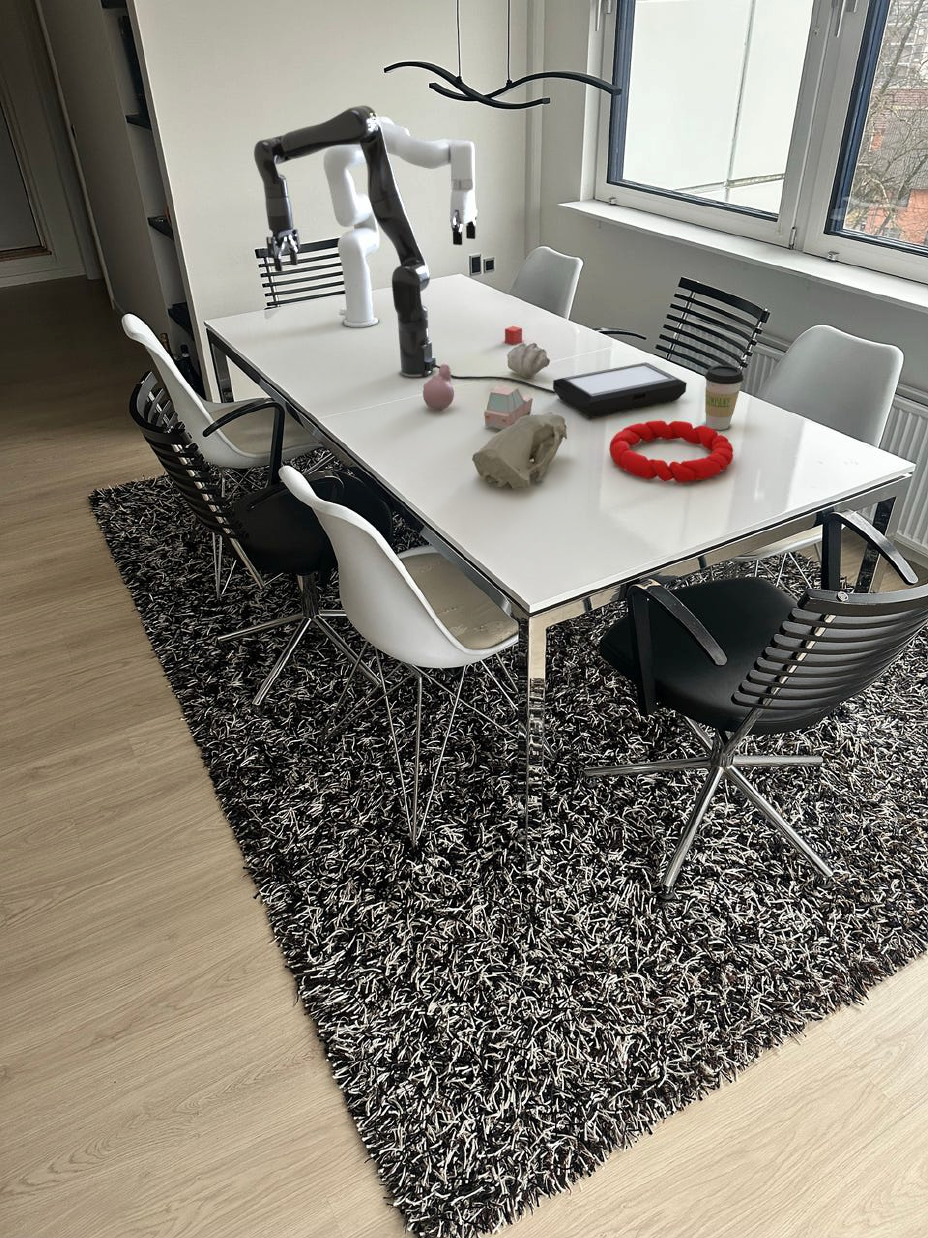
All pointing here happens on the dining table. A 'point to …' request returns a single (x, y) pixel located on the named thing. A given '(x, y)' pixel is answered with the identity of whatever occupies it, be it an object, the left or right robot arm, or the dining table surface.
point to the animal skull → (521, 450)
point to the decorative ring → (676, 471)
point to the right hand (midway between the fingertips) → (286, 268)
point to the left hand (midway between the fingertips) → (464, 241)
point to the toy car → (506, 407)
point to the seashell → (527, 359)
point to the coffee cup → (721, 395)
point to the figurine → (439, 389)
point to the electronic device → (619, 389)
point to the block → (513, 335)
